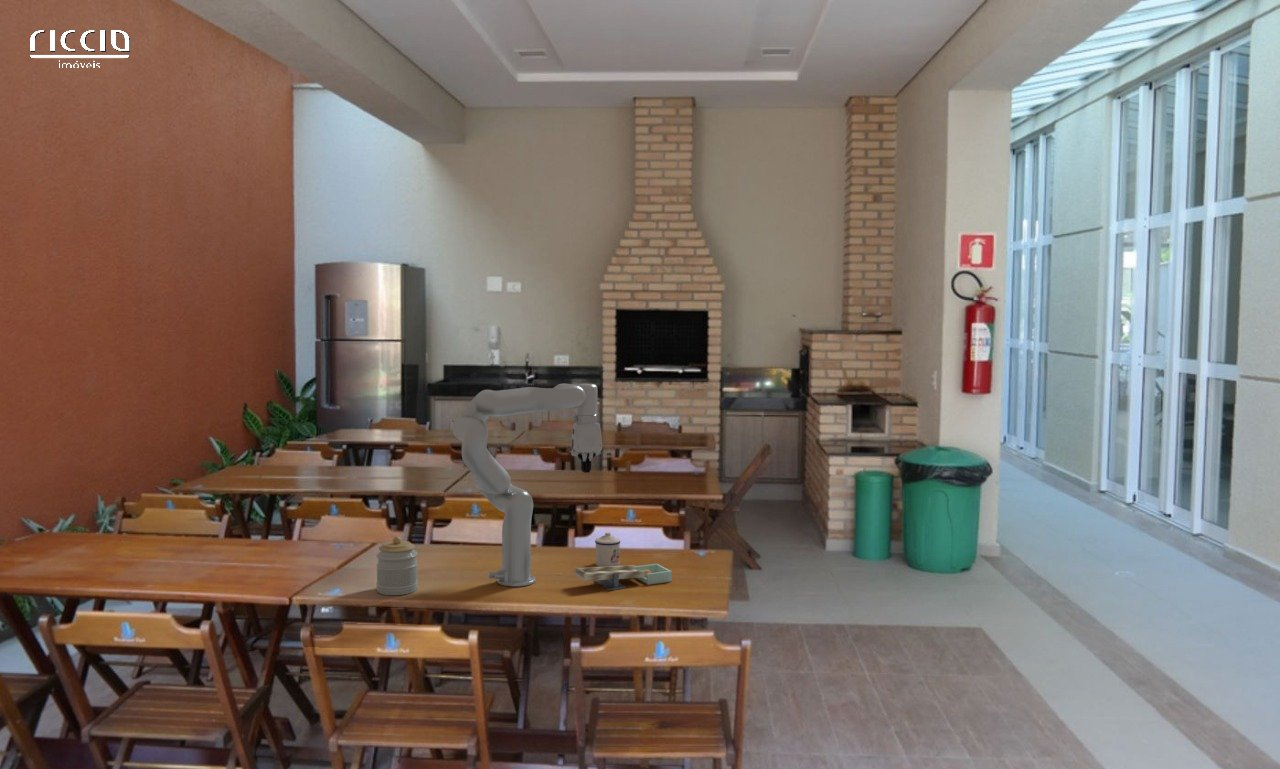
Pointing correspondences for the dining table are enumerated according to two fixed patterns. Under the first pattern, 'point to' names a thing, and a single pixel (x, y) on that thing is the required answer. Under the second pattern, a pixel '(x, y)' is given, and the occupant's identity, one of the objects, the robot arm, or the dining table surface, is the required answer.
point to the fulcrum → (611, 583)
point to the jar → (397, 568)
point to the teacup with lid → (607, 550)
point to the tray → (655, 574)
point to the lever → (608, 572)
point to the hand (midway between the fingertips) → (585, 472)
